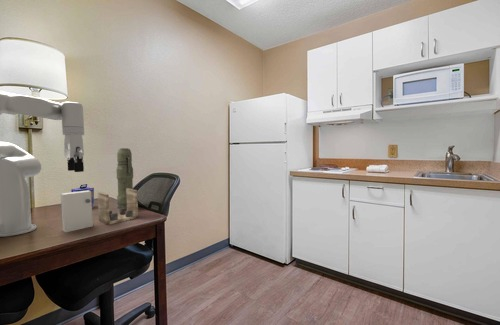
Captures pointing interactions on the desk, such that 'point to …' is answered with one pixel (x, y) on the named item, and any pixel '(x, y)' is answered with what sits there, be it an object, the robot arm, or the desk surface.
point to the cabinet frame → (125, 213)
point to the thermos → (124, 175)
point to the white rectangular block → (76, 210)
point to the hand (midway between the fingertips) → (75, 171)
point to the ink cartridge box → (86, 190)
